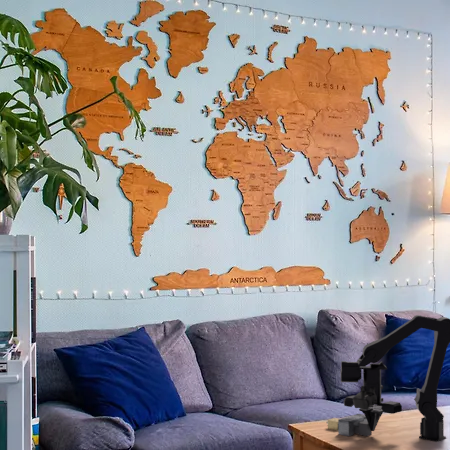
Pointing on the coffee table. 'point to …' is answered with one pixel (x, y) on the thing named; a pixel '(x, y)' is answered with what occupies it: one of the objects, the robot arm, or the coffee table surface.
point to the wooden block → (333, 424)
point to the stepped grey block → (362, 429)
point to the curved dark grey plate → (350, 424)
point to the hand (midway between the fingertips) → (372, 430)
